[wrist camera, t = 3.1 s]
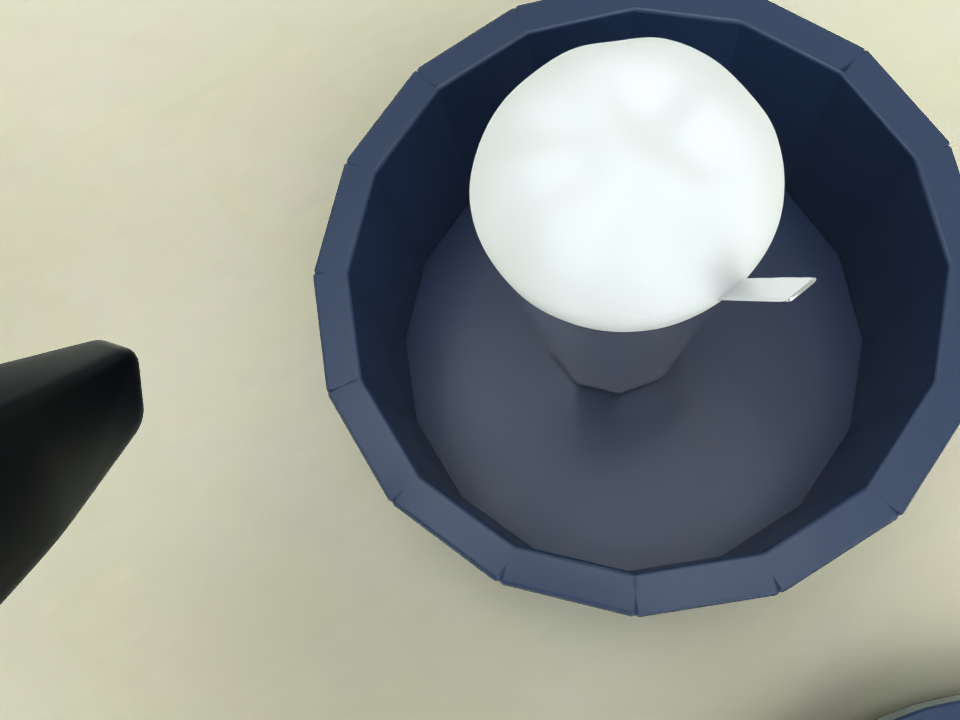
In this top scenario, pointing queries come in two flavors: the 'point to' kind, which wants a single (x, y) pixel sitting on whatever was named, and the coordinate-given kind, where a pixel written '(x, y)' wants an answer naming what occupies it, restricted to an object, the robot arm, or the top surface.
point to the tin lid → (929, 710)
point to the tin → (700, 366)
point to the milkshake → (629, 204)
